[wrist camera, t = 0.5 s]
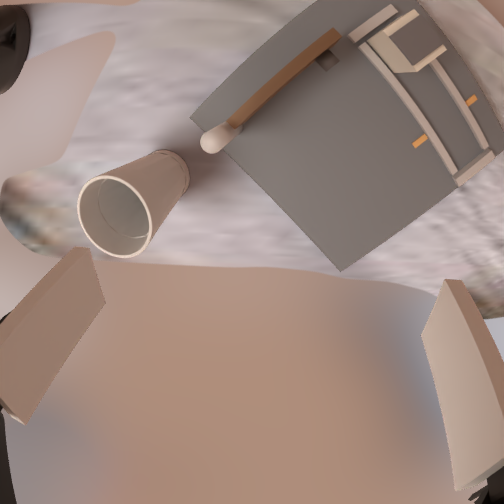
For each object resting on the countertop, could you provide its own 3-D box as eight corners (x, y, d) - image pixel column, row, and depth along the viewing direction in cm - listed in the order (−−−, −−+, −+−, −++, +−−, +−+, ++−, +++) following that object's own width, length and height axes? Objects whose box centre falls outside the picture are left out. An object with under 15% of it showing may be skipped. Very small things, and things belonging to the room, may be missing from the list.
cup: (210, 176, 35) (170, 222, 25) (169, 218, 39) (124, 272, 28) (160, 129, 33) (101, 156, 23) (124, 176, 36) (66, 216, 26)
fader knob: (366, 41, 23) (384, 30, 17) (391, 22, 21) (415, 7, 15) (393, 73, 24) (418, 71, 18) (418, 54, 22) (449, 49, 16)
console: (195, 115, 31) (155, 130, 23) (372, -34, 20) (395, -70, 11) (339, 262, 38) (345, 317, 29) (500, 140, 26) (550, 166, 18)
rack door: (240, 113, 29) (225, 121, 24) (327, 37, 23) (333, 27, 18) (257, 130, 29) (247, 141, 24) (345, 55, 24) (355, 49, 19)
